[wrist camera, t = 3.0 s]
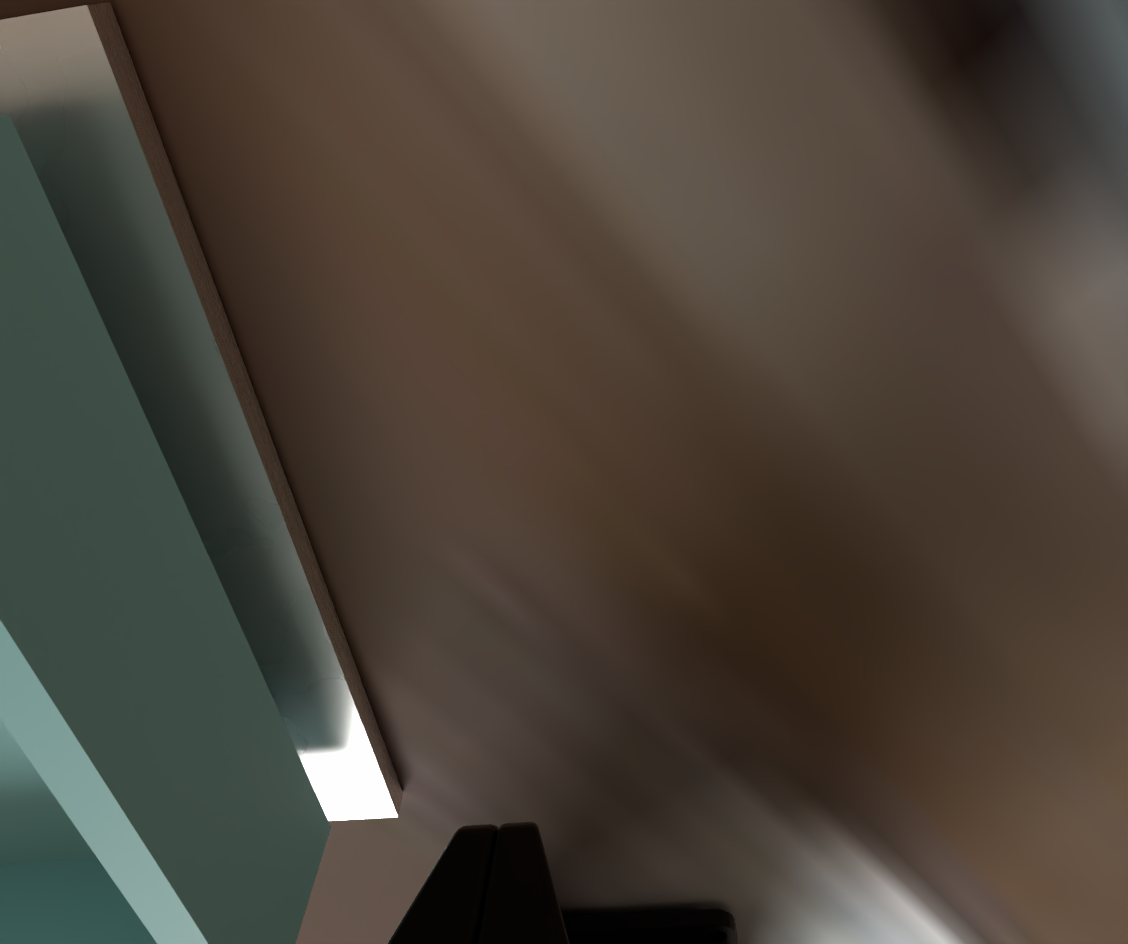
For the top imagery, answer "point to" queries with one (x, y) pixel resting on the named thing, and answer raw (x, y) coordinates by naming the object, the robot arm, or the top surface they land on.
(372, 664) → the top surface
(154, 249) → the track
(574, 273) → the top surface
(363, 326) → the top surface
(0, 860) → the teal storage bin
